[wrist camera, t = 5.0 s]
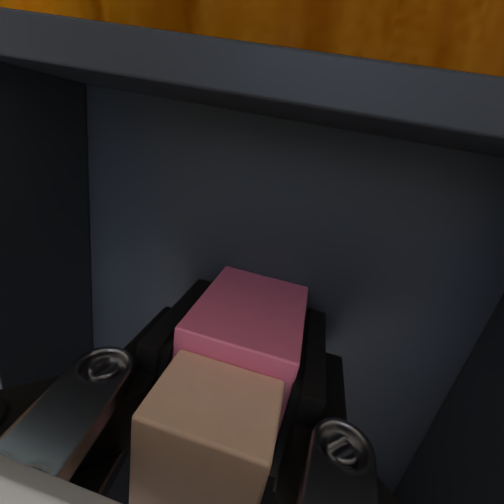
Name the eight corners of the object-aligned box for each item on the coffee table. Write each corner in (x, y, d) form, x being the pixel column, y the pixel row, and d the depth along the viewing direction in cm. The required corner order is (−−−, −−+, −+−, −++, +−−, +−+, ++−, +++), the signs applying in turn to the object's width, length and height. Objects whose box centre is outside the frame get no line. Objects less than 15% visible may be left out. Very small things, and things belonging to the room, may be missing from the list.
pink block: (309, 286, 10) (290, 450, 5) (284, 376, 12) (248, 581, 6) (225, 265, 11) (119, 391, 5) (212, 353, 12) (117, 526, 7)
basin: (598, 142, 8) (946, 136, 3) (395, 503, 14) (429, 675, 9) (82, 59, 10) (-102, -8, 6) (92, 396, 16) (3, 492, 11)
